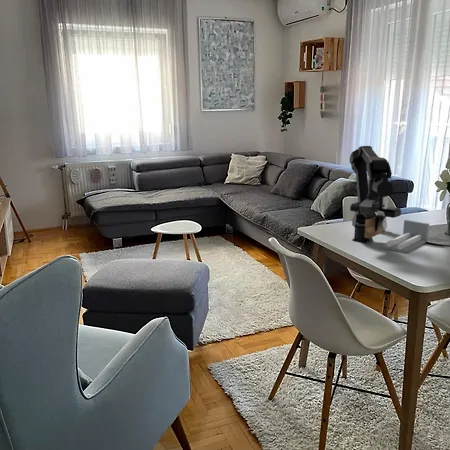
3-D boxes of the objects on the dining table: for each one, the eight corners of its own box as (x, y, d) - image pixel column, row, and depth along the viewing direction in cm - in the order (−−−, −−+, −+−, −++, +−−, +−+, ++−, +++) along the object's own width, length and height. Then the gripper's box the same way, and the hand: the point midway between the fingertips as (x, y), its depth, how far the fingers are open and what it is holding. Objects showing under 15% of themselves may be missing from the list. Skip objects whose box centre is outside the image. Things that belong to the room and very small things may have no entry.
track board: (381, 247, 180) (383, 228, 177) (404, 237, 193) (405, 219, 191) (405, 252, 172) (407, 233, 170) (427, 242, 186) (429, 223, 184)
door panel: (364, 237, 172) (365, 219, 170) (377, 232, 179) (378, 215, 177) (369, 238, 171) (370, 220, 169) (381, 233, 177) (383, 216, 175)
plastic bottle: (389, 232, 202) (393, 188, 196) (377, 233, 199) (380, 190, 194) (380, 228, 207) (383, 186, 202) (368, 230, 205) (371, 187, 200)
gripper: (343, 192, 171) (341, 230, 175) (388, 198, 158) (385, 239, 162) (358, 188, 179) (356, 225, 183) (403, 193, 166) (400, 233, 170)
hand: (373, 230), depth 174 cm, fingers closed on door panel, 2 cm apart
